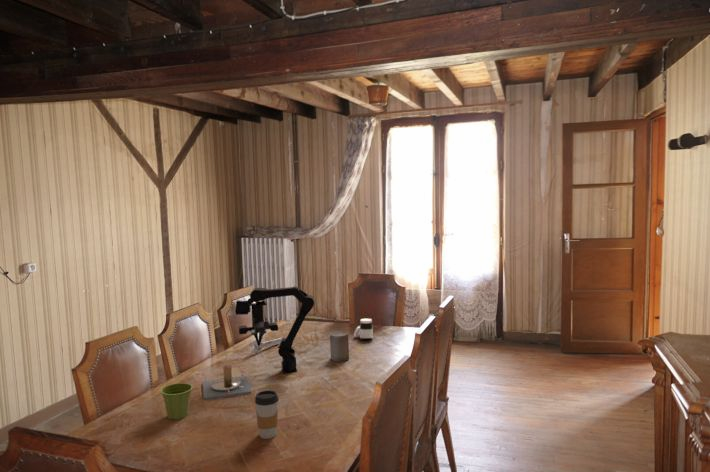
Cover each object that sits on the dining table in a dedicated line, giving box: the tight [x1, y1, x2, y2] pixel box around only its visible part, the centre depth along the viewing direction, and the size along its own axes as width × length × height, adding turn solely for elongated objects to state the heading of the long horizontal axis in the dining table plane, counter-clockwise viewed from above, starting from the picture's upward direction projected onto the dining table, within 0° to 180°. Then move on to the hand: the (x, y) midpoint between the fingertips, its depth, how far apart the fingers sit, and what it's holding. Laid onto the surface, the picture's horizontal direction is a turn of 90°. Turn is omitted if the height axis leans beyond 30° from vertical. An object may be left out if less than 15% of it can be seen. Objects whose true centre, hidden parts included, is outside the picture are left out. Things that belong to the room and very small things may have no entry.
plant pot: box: [160, 382, 194, 420], centre depth 191 cm, size 12×12×11 cm
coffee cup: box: [254, 390, 279, 440], centre depth 174 cm, size 8×8×15 cm
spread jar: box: [353, 318, 374, 342], centre depth 291 cm, size 12×11×12 cm
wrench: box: [248, 337, 283, 355], centre depth 274 cm, size 8×2×30 cm
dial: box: [211, 364, 241, 391], centre depth 218 cm, size 13×13×10 cm
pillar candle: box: [329, 330, 350, 363], centre depth 255 cm, size 10×10×15 cm
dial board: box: [202, 375, 253, 401], centre depth 219 cm, size 20×20×2 cm
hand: (258, 345), depth 238 cm, fingers closed
